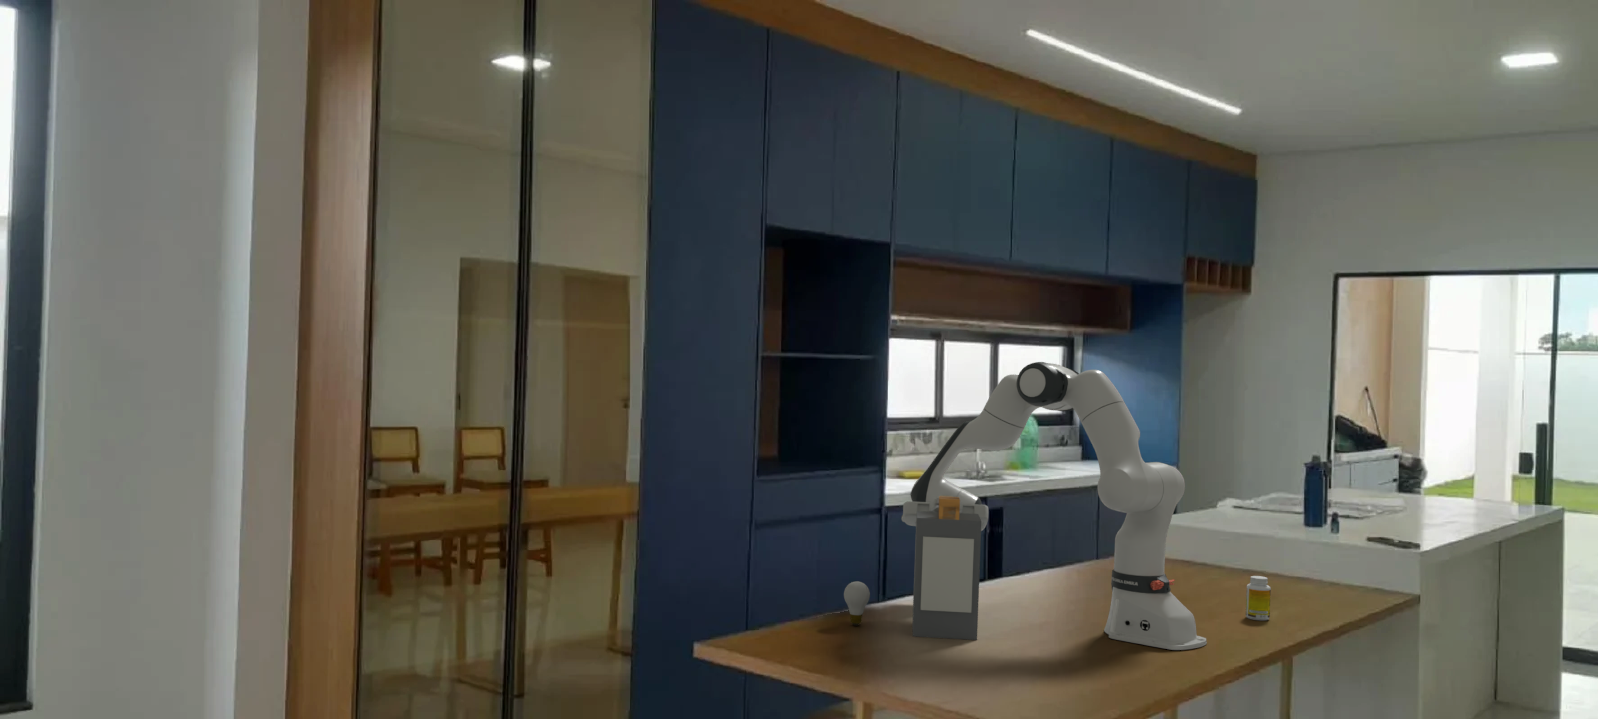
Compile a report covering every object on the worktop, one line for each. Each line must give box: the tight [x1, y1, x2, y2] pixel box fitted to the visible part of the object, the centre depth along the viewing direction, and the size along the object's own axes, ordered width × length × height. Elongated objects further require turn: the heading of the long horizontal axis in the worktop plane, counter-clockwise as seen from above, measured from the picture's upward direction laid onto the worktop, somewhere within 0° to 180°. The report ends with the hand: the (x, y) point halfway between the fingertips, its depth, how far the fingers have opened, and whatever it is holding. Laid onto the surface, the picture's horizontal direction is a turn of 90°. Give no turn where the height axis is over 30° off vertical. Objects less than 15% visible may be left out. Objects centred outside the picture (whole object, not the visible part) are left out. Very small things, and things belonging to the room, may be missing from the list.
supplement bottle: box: [1245, 575, 1272, 622], centre depth 296 cm, size 6×6×10 cm
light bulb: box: [843, 580, 871, 627], centre depth 272 cm, size 6×6×10 cm
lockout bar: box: [938, 495, 960, 520], centre depth 274 cm, size 22×4×4 cm, turn 175°
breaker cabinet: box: [911, 511, 982, 641], centre depth 268 cm, size 13×14×26 cm
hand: (946, 501), depth 280 cm, fingers closed on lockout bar, 3 cm apart
